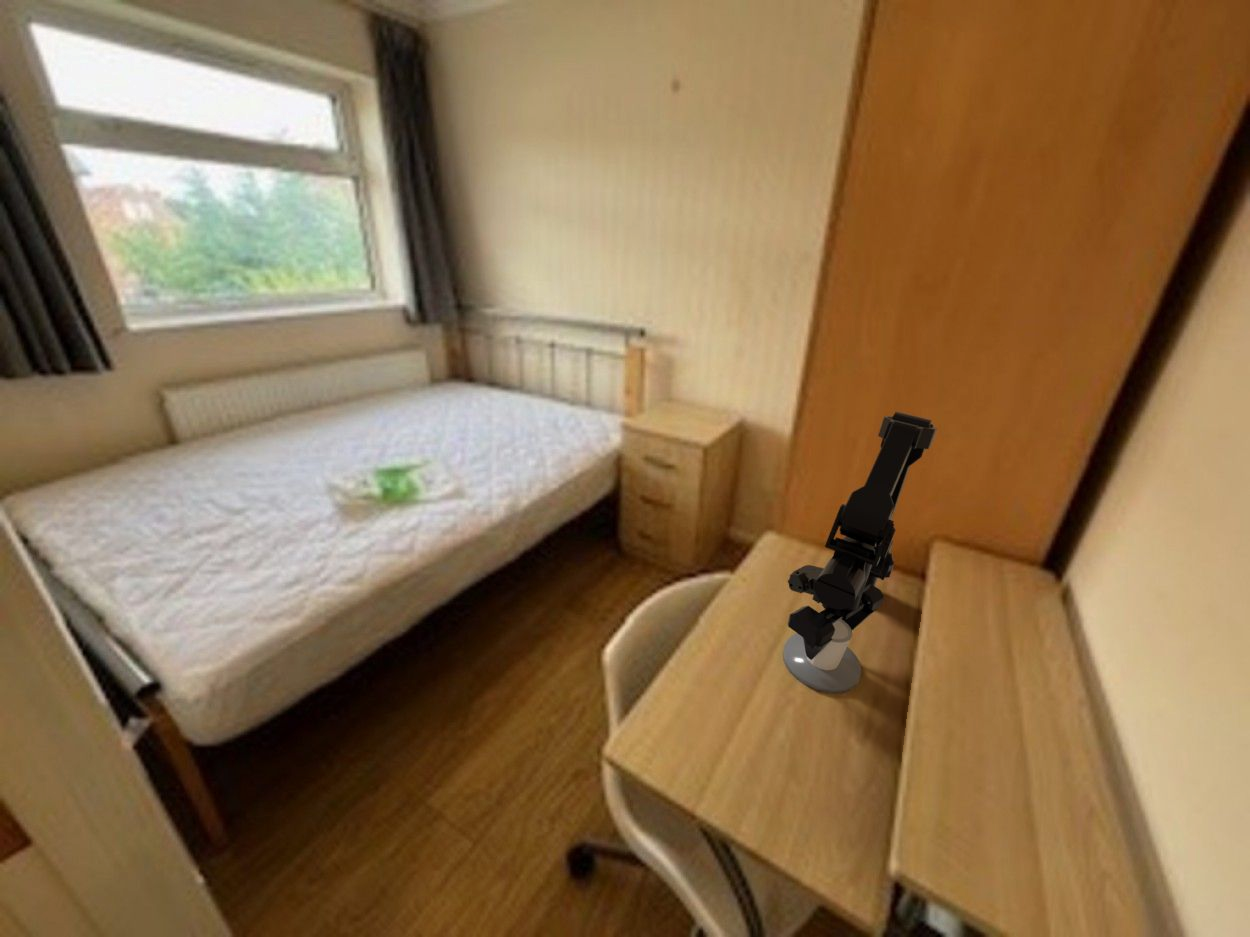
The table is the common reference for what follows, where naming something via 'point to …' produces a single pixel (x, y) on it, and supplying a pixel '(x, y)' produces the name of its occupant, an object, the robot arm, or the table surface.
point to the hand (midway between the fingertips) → (825, 646)
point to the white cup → (834, 647)
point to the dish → (819, 678)
